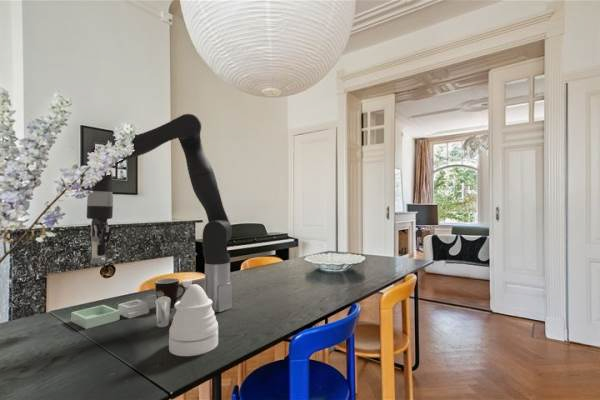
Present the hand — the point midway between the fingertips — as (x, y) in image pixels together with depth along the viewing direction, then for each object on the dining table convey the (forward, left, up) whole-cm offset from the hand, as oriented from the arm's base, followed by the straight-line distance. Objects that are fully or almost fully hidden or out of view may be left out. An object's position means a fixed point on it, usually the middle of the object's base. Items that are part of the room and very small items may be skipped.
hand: (98, 254), depth 108 cm
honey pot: (-45, -6, -22) cm, 50 cm away
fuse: (0, 0, -3) cm, 3 cm away
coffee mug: (-9, -21, -22) cm, 32 cm away
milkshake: (-24, -9, -22) cm, 34 cm away
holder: (-4, -10, -22) cm, 25 cm away
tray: (-1, +1, -22) cm, 22 cm away
